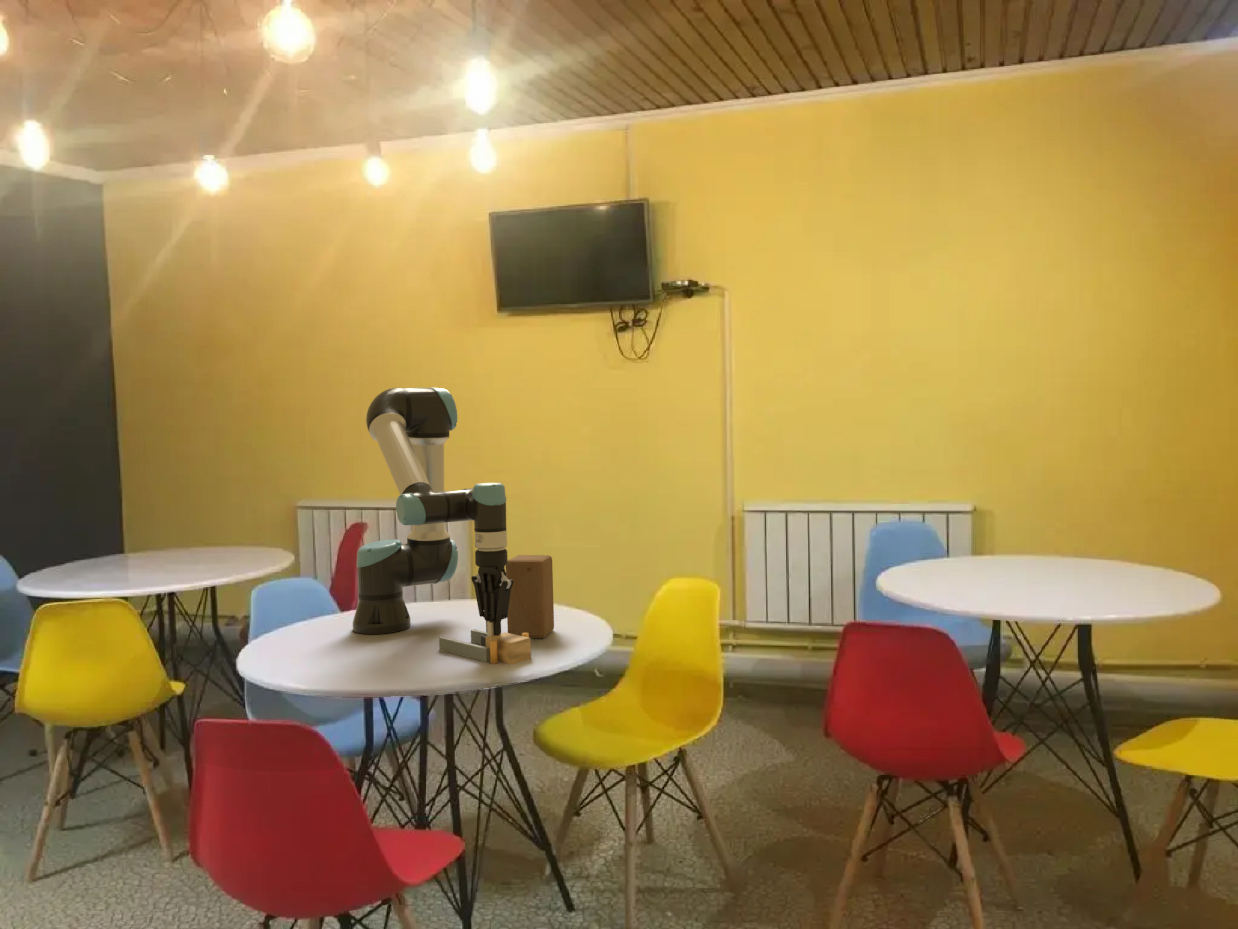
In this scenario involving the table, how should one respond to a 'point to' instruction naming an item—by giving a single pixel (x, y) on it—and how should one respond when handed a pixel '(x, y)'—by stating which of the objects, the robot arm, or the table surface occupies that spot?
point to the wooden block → (530, 595)
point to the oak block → (511, 647)
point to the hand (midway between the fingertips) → (494, 647)
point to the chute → (473, 647)
